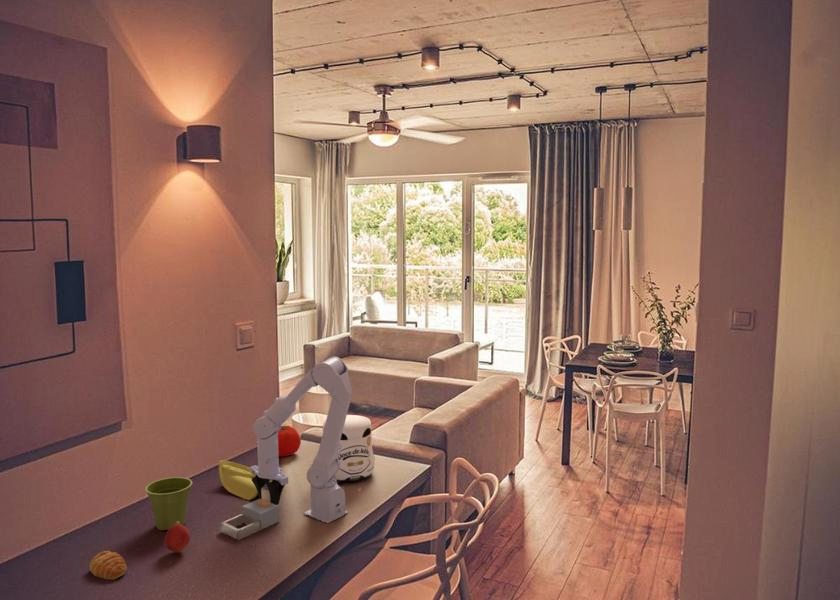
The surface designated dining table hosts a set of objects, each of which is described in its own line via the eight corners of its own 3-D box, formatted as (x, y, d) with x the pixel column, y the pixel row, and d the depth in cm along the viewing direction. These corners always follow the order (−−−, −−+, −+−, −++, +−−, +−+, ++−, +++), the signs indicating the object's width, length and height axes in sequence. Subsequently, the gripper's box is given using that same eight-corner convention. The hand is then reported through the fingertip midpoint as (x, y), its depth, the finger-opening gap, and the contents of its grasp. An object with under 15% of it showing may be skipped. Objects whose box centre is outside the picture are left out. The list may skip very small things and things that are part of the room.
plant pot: (203, 518, 175) (201, 479, 174) (175, 538, 163) (173, 496, 162) (166, 513, 178) (164, 474, 177) (137, 532, 167) (134, 491, 165)
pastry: (135, 572, 147) (134, 557, 147) (106, 586, 142) (105, 569, 142) (114, 560, 153) (113, 545, 152) (85, 572, 147) (84, 557, 147)
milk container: (354, 490, 193) (353, 433, 191) (310, 479, 201) (308, 424, 199) (385, 471, 208) (384, 418, 206) (342, 462, 216) (341, 411, 214)
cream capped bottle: (280, 507, 181) (280, 484, 180) (268, 512, 178) (267, 489, 177) (270, 503, 184) (270, 481, 183) (258, 508, 180) (257, 485, 180)
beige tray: (262, 529, 168) (262, 520, 168) (238, 540, 162) (238, 531, 162) (244, 521, 173) (244, 512, 172) (220, 531, 167) (220, 522, 166)
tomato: (275, 447, 231) (275, 420, 230) (306, 451, 227) (306, 423, 226) (258, 458, 221) (257, 429, 220) (290, 462, 217) (290, 433, 216)
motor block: (279, 521, 172) (278, 503, 172) (261, 530, 167) (260, 511, 167) (260, 513, 177) (260, 495, 176) (242, 521, 172) (242, 503, 172)
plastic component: (282, 481, 195) (260, 477, 187) (274, 505, 193) (251, 502, 185) (239, 463, 205) (216, 459, 197) (231, 486, 204) (208, 482, 196)
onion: (164, 560, 152) (162, 528, 152) (166, 548, 158) (165, 518, 157) (189, 556, 154) (188, 525, 153) (191, 545, 160) (190, 515, 159)
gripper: (296, 458, 178) (297, 504, 179) (263, 447, 187) (264, 491, 188) (276, 465, 172) (277, 513, 174) (243, 454, 181) (245, 499, 183)
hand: (269, 502), depth 181 cm, fingers closed on cream capped bottle, 4 cm apart
